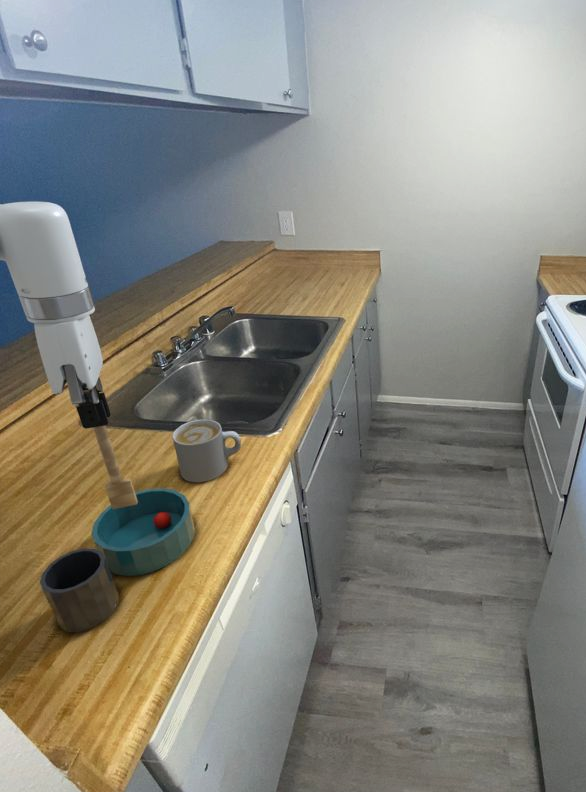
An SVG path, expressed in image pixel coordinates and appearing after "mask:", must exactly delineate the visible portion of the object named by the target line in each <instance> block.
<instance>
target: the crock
mask: <svg viewBox="0 0 586 792" xmlns="http://www.w3.org/2000/svg"><path fill="white" fill-rule="evenodd" d="M39 584H40V587H41V590H42V591H43V593H44V596H45V598H46V600H47V602H48V604H49V606H50V608H51V610H52V613H53V614H54V617H55V619H56V621H57V623H58V625H59V626H60V628H61V629H62V630H63V631H65V632H67V633H82V632H87V631H89V630H91V629H93V628H95V627H97V626H99V625H101V624H102V623H103V622H105V621H106V620H107V619H108V618H109V617H111V615H112V614H113V613H114V612H115V610H116V609H117V607H118V604H119V601H120V600H119V598H120V595H119V592H118V588H117V586H116V584H115V580H114V578H113V576H112V572H110V570H109V567H108V564H107V561H106V559H105V556H104V555H103V553H102V552H101V551H99V550H97V548H94V547H93V548H91V547H90V548H89V547H84V548H79V549H74V550H71V551H69V552H67V553H64V554H62V555H61V556H58V557H57V558H56V559H54V560H53V561H52V562H51V563H49V564H48V566H47V567H46V568H45V570H43V572H42V573H41V576H40V579H39Z"/></svg>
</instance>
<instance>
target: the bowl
mask: <svg viewBox="0 0 586 792" xmlns="http://www.w3.org/2000/svg"><path fill="white" fill-rule="evenodd" d="M135 494H136V498H137V501H138V502H137V504H136V505H131V506H127V507H122V508H117V509H112V506H111V504H110V505H109V506H107V507H106V508H105V509H104V510H103V511H102V512H100V514H99V515H98V517H97V518H96V519H95V521H94V523H93V524H92V528H91V529H92V530H91V537H92V539H93V542H94V544H95V549H97V550H99V551H101V552H102V553H103V555H104V556H105V559H106V561H107V564H108V567H109V570H110V572H111V574H115V575H119V576H124V577H132V576H141V575H146V574H151V573H154V572H155V571H158V570H161V569H162V568H163V569H164V568H165V567H167V566H168V565H170V564H172V563H173V562H175V561H176V560H177V559H178V558H180V557H181V556H182V555H183V554H184V553H185V552H186V551H187V550H188V548H189V547H190V545H191V544H192V542H193V540H194V536H195V530H196V529H195V522H194V518H193V513H192V509H191V505H190V502H189V500H188V498H187V496H185V494H183V493H181V492H179V491H178V490H175V489H171V488H148V489H144V490H139V491H135ZM161 512H166V513H168V514H169V515H170V516H171V523H170V524H169V525H168V526H167V527H166V528H162V529H161V528H157V527H156V526H155V525H154V518H155V516H156V515H157V514H159V513H161Z"/></svg>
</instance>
